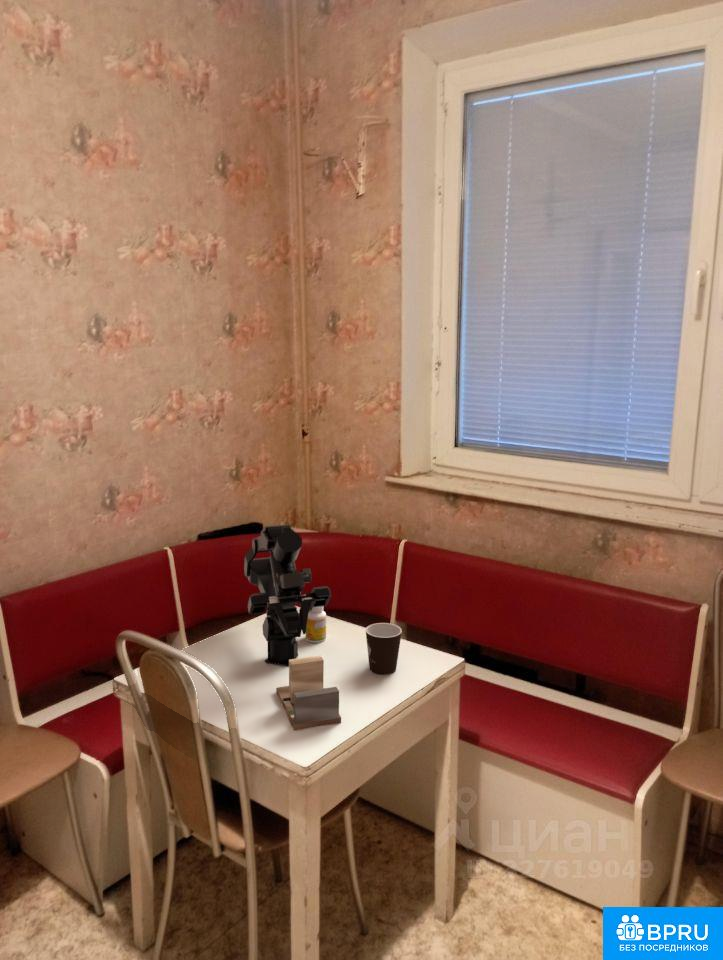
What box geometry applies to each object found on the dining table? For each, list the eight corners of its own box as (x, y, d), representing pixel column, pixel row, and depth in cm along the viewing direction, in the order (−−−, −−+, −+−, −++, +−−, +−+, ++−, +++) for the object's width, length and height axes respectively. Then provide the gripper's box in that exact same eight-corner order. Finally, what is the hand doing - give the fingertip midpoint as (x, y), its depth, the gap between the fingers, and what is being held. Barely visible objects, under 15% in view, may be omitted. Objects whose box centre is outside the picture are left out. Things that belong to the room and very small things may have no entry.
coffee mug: (397, 679, 168) (398, 639, 166) (361, 675, 170) (362, 635, 168) (404, 657, 179) (405, 620, 177) (370, 654, 181) (371, 616, 179)
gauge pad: (281, 699, 155) (281, 660, 153) (320, 693, 158) (320, 655, 156) (284, 704, 153) (284, 665, 151) (323, 698, 156) (323, 660, 154)
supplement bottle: (302, 636, 191) (302, 602, 189) (321, 633, 193) (322, 599, 191) (309, 644, 186) (309, 609, 184) (328, 641, 188) (329, 606, 186)
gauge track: (276, 692, 161) (276, 662, 160) (319, 686, 164) (319, 656, 163) (294, 730, 146) (294, 698, 144) (341, 722, 149) (341, 690, 148)
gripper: (249, 560, 160) (259, 625, 152) (329, 553, 166) (343, 615, 158) (243, 582, 169) (253, 645, 161) (319, 574, 175) (332, 634, 167)
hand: (296, 634), depth 162 cm, fingers open, 4 cm apart
